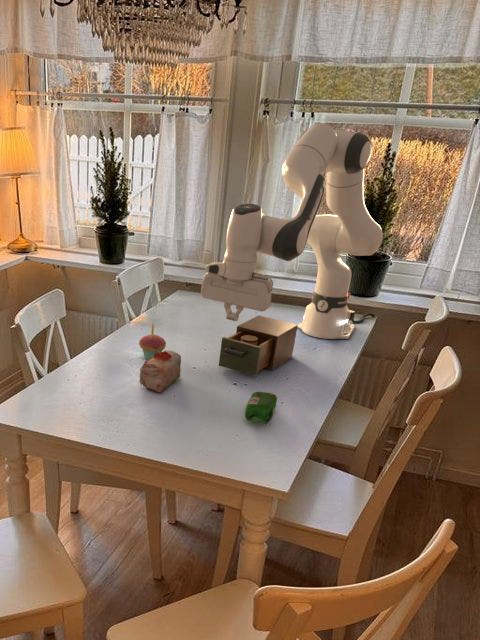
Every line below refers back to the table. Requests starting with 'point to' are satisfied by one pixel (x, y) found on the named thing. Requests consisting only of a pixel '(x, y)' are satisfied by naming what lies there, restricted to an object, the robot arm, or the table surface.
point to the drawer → (246, 353)
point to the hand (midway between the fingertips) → (232, 319)
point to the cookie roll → (249, 339)
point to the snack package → (260, 407)
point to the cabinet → (273, 329)
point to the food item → (160, 370)
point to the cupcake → (152, 344)
